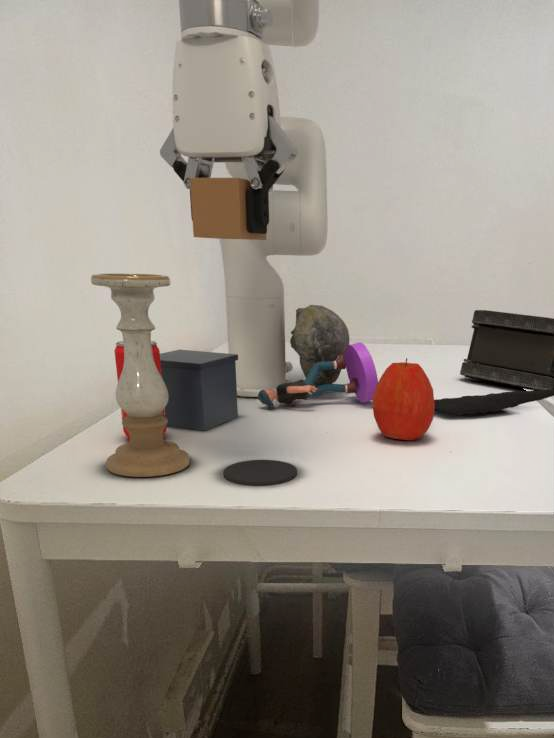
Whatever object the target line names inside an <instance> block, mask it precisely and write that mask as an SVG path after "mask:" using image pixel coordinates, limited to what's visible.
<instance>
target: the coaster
mask: <svg viewBox="0 0 554 738" xmlns="http://www.w3.org/2000/svg"><path fill="white" fill-rule="evenodd" d="M222 471H223V477H224V478H225V479H226V480H227V481H228V482H231V483H235V484H239V485H243V486H244V485H245V486H271V485H278V484H282V483H283V484H284V483H286V482H289V481H291V480H293V479H295V478H296V477H297V475H298V469H297V467H296V466H295V465H294V464H291V463H289V462H285V461H281V460H276V459H275V460H274V459H251V460H243V461H238V462H235V463H233V464H229V465H228V466H225V468H224V469H223V470H222Z"/></svg>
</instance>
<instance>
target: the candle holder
mask: <svg viewBox="0 0 554 738" xmlns="http://www.w3.org/2000/svg"><path fill="white" fill-rule="evenodd" d="M90 282H91V285H94V286H99V287H100V286H101V287H106V288H109V289H110V298H111V300H112V302H114V303H115V305H117V307H118V308H119V311H120V319H119V321H118V323H117V325H116V326H115V327H116V328H115V329H116V330H118V331H120V332H121V336H122V341H123V342H124V365H123V370H122V373H121V376H120V378H119V381H118V380H117V384H116V389H115V400H116V402H117V405H118V406H119V407H120V410H121V409H122V410H123V411H124V412H126V413H127V414H128V415H126V418H124V419H123V420H122V419H121V425H122V427H123V426H124V427H125V428H126V429H127V431H128V432H129V435H130V441H128V442H126V443H123V444H121V445H119V446H117V447H116V449H115V450H114V451H115V452H114V453H112V454H111V455H109V456H108V458H107V459H106V467H107V469H108V471H109V472H111V473H112V474H115V475H117V476H118V475H119V476H123V477H131V478H148V477H149V478H151V477H161V476H165V475H170V474H175V473H177V472H180V471H182V470H185V469H186V468H188V466H189V465H190V463H191V462H190V461H191V460H190V455H189V453H188V452H187V451H185V450H183V449H180V446H179V444H177V443H175V442H174V441H169V440H164V439H163V430H164V428H165V426H166V424H167V423H168V419H167V418H166V417H165V416H163V414H162V413H161V412H162V411H163V410H164V408H165V407H166V405H167V403H168V400H169V393H168V389H167V387H166V384H165V382H164V380H163V378H162V377H161V375H160V373H159V371H158V369H157V367H156V365H155V362H154V359H153V353H152V346H151V341H152V331H154V330H156V326H155V325H154V323H153V322H152V321H151V319H150V316H149V310H150V306H151V304H152V303H153V302H154V301H155V294H154V290H155V289H157V288H161V287H163V288H164V287H169V286H171V279H170V277H169V275H166V274H155V273H153V274H152V273H126V272H125V273H124V272H123V273H119V272H118V273H117V272H116V273H115V272H113V273H110V272H109V273H93V274H92V275H91V277H90ZM166 427H167V426H166Z"/></svg>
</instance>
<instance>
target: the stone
mask: <svg viewBox="0 0 554 738" xmlns="http://www.w3.org/2000/svg"><path fill="white" fill-rule="evenodd" d="M290 334H291V336H290V340H289V344H290V347H291V348H292V350H294V352H295V353H297V355H298V356H299V365H300V369H301V371H302V373H303V376H304V377H305V378H306V377H307V375H308V374H309V372H310V371H311V369H312V367H313V366H314V364H316V363H318V362H328V361H333V360H336V359H338V354H339V353H341V352H343V354H344V357H345V350H346V347H347V346H348V345H350V332H349V328H348V327H347V325H346V323H345V322H344V320H343V319H342V317H340V316H339V315H338V314H337V313H336V312H334V311H333V310H331V309H330V308H327V307H326V306H323V305H321V304H320V305H319V304H309V305H308V306H306V307H298V308H297V309H296V310H295V326H294V328H293V329H292V330H291V331H290ZM342 370H343V369H340V370H336V369H335V368H334V369H330V370H320V371H319V374H318V377H317V379H316V381H315V383H314V386H319V385H323V384H335V383H336V382H337V380H338V379H339V377H340V376H341V372H342Z"/></svg>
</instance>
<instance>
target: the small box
mask: <svg viewBox="0 0 554 738" xmlns="http://www.w3.org/2000/svg"><path fill="white" fill-rule="evenodd" d="M190 188H191V202H190V205H191V204H192V217H191V220H192V219H193V221H192V233H193V238H199V239H216V240H217V239H218V240H219V239H245V240H266V234H258V233H249V231H247V219H246V189H250V182H249V180H246V179H242V178H233V177H210V178H190Z"/></svg>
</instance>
